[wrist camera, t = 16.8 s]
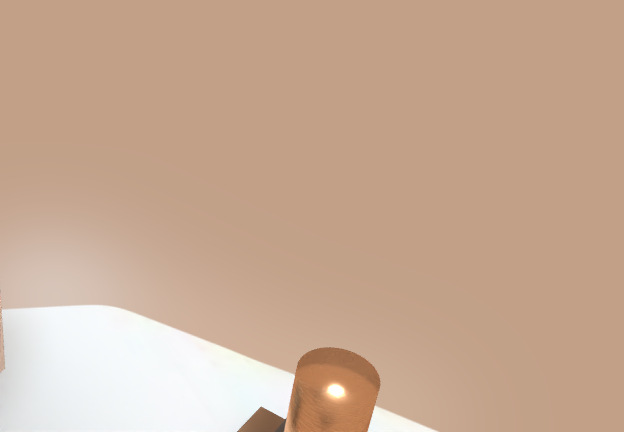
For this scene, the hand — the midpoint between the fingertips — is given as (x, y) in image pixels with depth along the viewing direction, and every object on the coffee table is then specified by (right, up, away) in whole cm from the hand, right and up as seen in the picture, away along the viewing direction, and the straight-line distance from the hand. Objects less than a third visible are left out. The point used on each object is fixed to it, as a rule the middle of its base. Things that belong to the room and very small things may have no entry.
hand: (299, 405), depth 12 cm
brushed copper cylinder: (0, -17, +32) cm, 37 cm away
